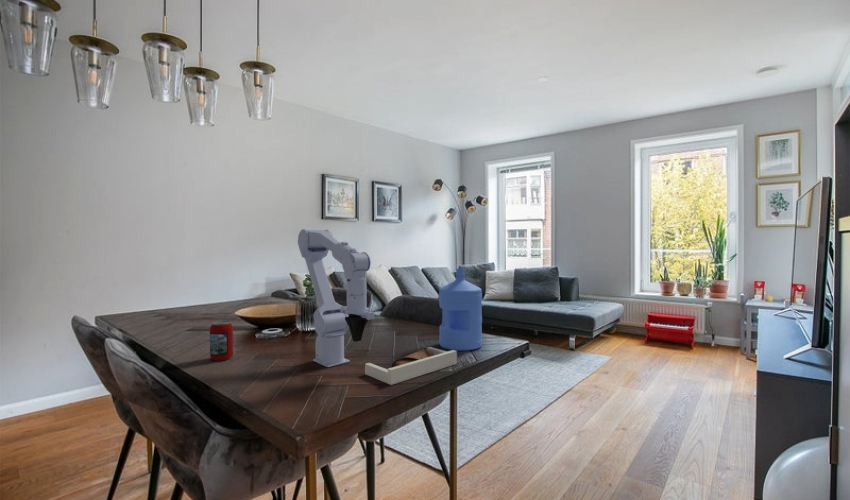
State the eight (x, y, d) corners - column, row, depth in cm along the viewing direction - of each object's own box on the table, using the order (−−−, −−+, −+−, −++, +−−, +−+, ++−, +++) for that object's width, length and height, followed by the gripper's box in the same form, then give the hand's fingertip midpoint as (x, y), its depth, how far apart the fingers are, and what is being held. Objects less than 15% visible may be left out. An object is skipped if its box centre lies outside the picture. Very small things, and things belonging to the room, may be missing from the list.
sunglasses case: (415, 376, 112) (405, 355, 114) (397, 385, 116) (388, 364, 117) (445, 360, 128) (435, 341, 130) (428, 368, 131) (419, 349, 133)
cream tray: (365, 374, 115) (365, 360, 115) (429, 355, 133) (429, 343, 133) (391, 384, 106) (391, 370, 106) (456, 363, 124) (456, 351, 124)
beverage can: (205, 361, 129) (204, 324, 128) (220, 355, 135) (220, 319, 135) (223, 362, 127) (222, 324, 127) (237, 356, 134) (237, 320, 133)
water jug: (460, 338, 157) (460, 266, 156) (491, 346, 145) (491, 269, 144) (430, 345, 147) (429, 268, 146) (460, 354, 135) (460, 271, 134)
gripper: (382, 295, 113) (383, 342, 114) (354, 290, 124) (354, 334, 124) (362, 297, 108) (362, 347, 109) (334, 292, 119) (334, 338, 119)
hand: (357, 340), depth 116 cm, fingers closed
